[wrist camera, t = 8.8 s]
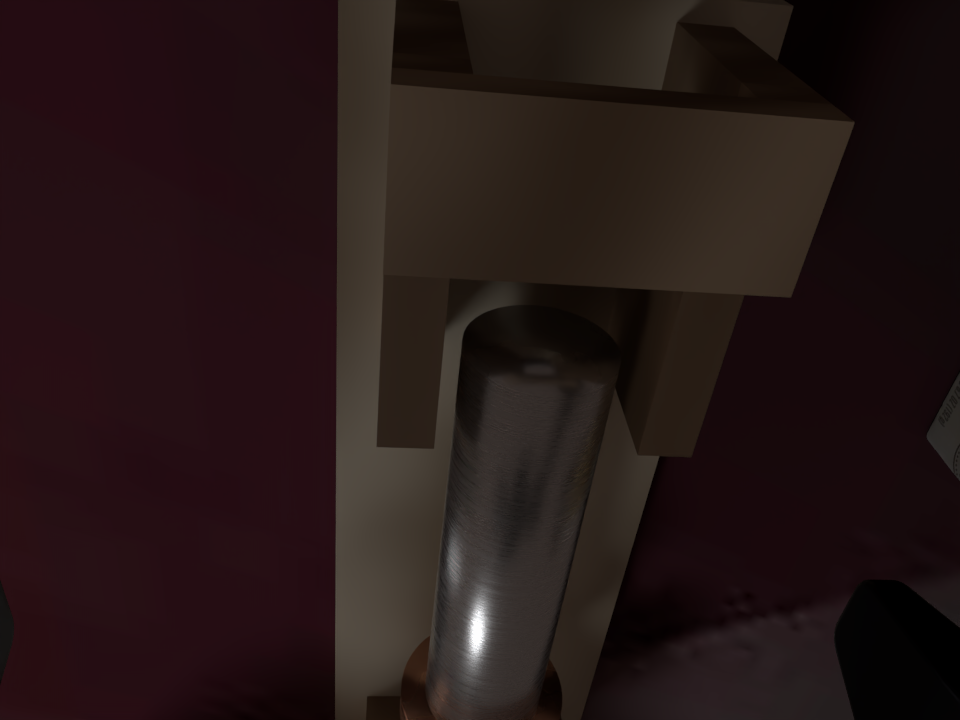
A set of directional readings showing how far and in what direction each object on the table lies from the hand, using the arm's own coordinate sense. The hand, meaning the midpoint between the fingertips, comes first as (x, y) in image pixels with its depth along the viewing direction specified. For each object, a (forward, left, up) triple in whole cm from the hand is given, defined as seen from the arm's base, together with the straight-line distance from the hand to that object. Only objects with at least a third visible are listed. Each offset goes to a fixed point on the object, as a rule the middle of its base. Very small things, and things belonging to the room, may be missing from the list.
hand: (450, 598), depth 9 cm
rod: (-3, +12, -11) cm, 17 cm away
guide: (-3, +9, -12) cm, 16 cm away
